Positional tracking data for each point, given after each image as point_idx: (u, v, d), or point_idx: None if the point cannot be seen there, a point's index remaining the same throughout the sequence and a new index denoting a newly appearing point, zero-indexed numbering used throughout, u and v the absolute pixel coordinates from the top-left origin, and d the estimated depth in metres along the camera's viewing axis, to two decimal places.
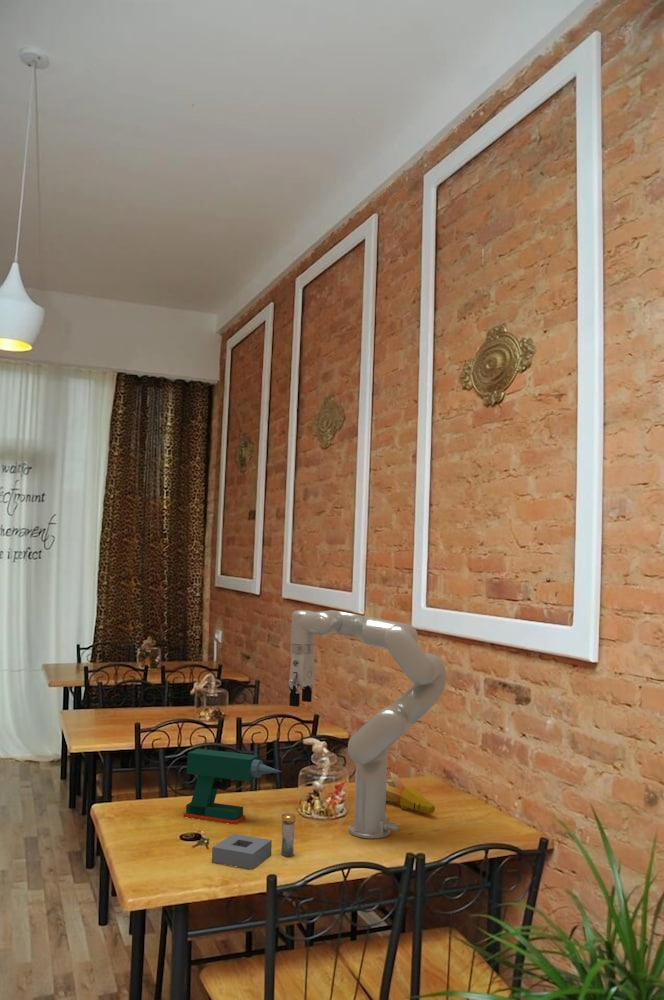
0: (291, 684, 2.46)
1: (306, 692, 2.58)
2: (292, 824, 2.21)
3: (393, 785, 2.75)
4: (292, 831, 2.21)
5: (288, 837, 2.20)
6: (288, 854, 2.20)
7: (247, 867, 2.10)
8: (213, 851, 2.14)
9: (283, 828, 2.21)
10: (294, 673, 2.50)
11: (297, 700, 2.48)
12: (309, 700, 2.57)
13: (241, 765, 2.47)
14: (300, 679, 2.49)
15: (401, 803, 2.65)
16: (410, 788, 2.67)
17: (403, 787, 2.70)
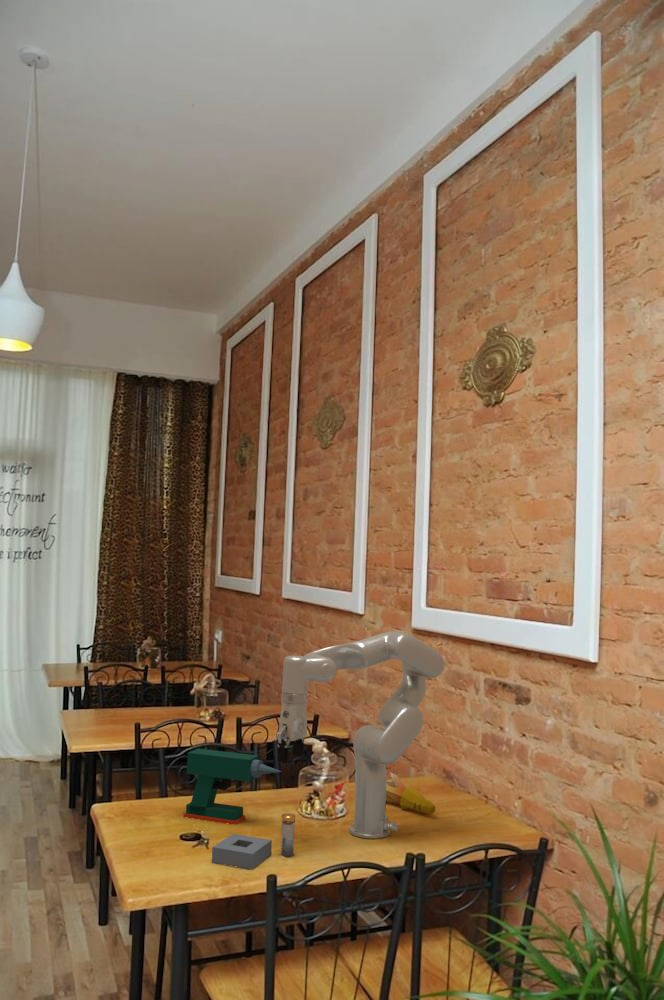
0: (279, 738, 2.25)
1: (297, 745, 2.36)
2: (292, 824, 2.21)
3: (393, 785, 2.74)
4: (292, 831, 2.21)
5: (288, 837, 2.20)
6: (288, 854, 2.20)
7: (247, 867, 2.10)
8: (213, 851, 2.14)
9: (283, 828, 2.21)
10: (283, 725, 2.28)
11: (286, 755, 2.27)
12: (300, 754, 2.36)
13: (241, 765, 2.47)
14: (290, 732, 2.27)
15: (401, 803, 2.65)
16: (410, 788, 2.67)
17: (403, 787, 2.70)
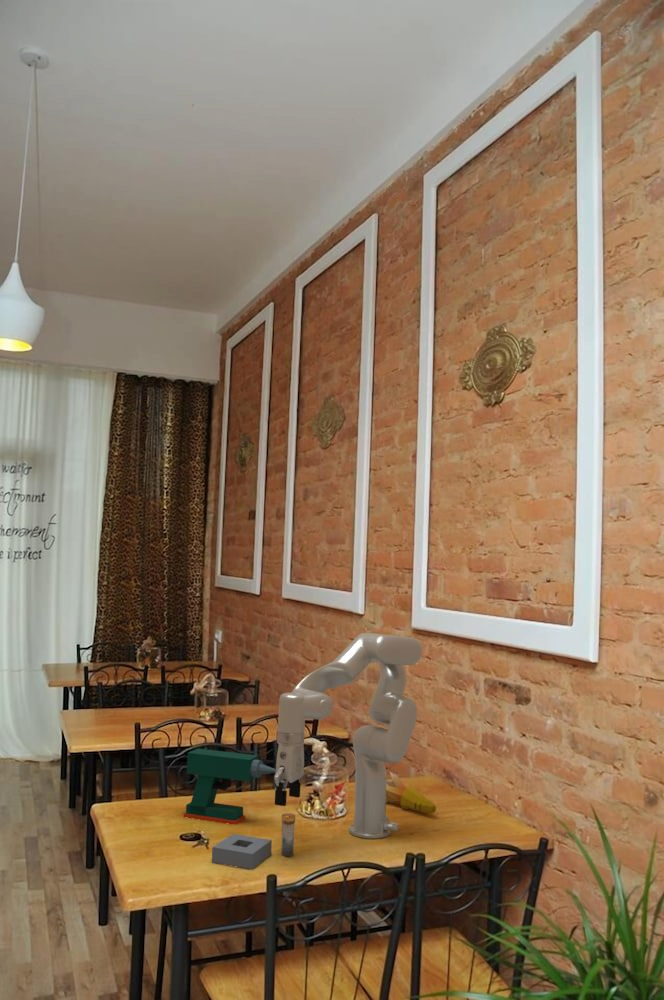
0: (277, 781, 2.15)
1: (294, 786, 2.27)
2: (292, 824, 2.21)
3: (393, 785, 2.74)
4: (292, 831, 2.21)
5: (288, 837, 2.20)
6: (288, 854, 2.20)
7: (247, 867, 2.10)
8: (213, 851, 2.14)
9: (283, 828, 2.21)
10: (280, 767, 2.19)
11: (283, 798, 2.17)
12: (297, 795, 2.26)
13: (241, 765, 2.47)
14: (287, 774, 2.18)
15: (402, 803, 2.65)
16: (410, 787, 2.67)
17: (403, 787, 2.70)
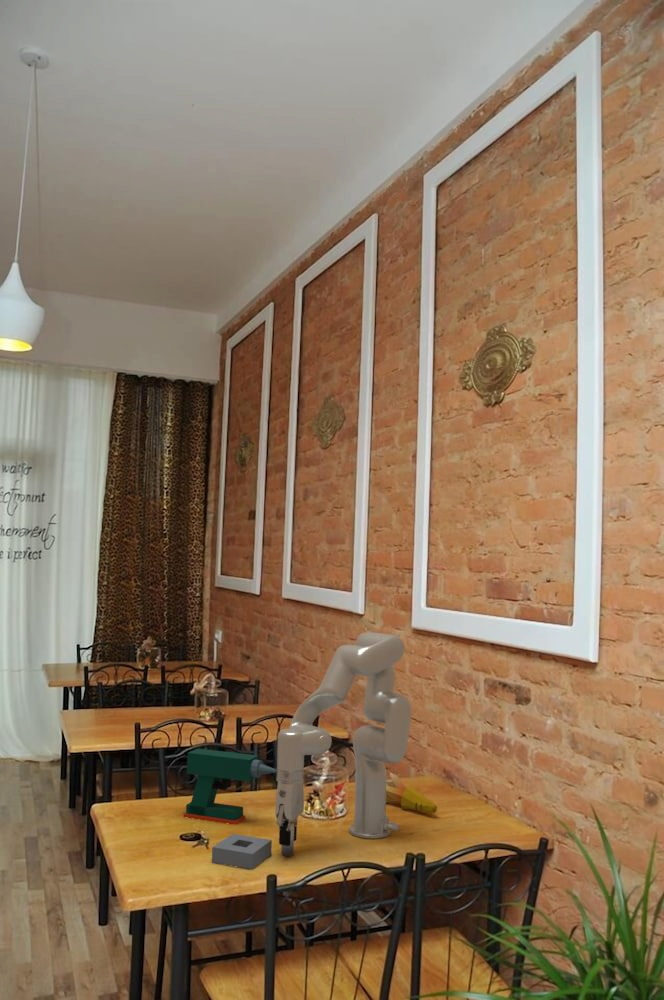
0: (280, 825, 2.17)
1: None
2: (292, 824, 2.21)
3: (393, 785, 2.74)
4: (292, 831, 2.21)
5: None
6: (288, 854, 2.20)
7: (247, 867, 2.10)
8: (213, 851, 2.14)
9: None
10: (280, 807, 2.18)
11: (288, 838, 2.19)
12: None
13: (241, 765, 2.47)
14: (287, 812, 2.17)
15: (402, 803, 2.65)
16: (411, 788, 2.67)
17: (403, 787, 2.70)
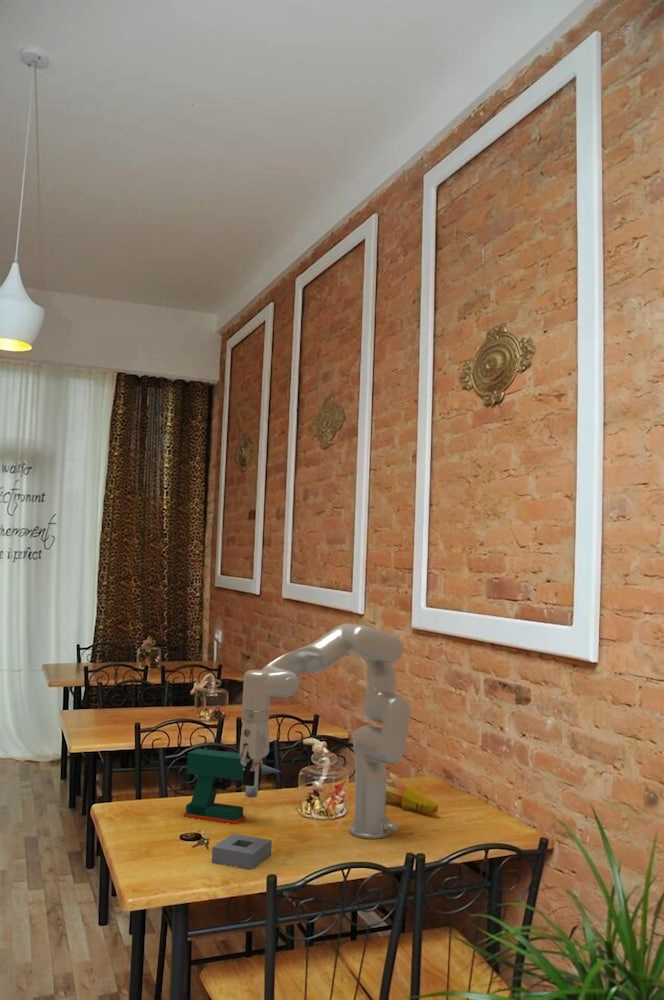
0: (244, 764, 2.15)
1: None
2: (256, 765, 2.19)
3: (392, 785, 2.74)
4: (256, 772, 2.19)
5: None
6: (252, 795, 2.18)
7: (247, 867, 2.10)
8: (213, 851, 2.14)
9: None
10: (245, 747, 2.16)
11: (252, 779, 2.17)
12: (258, 780, 2.21)
13: (241, 765, 2.47)
14: (251, 752, 2.15)
15: (403, 803, 2.65)
16: (411, 788, 2.67)
17: (404, 787, 2.70)
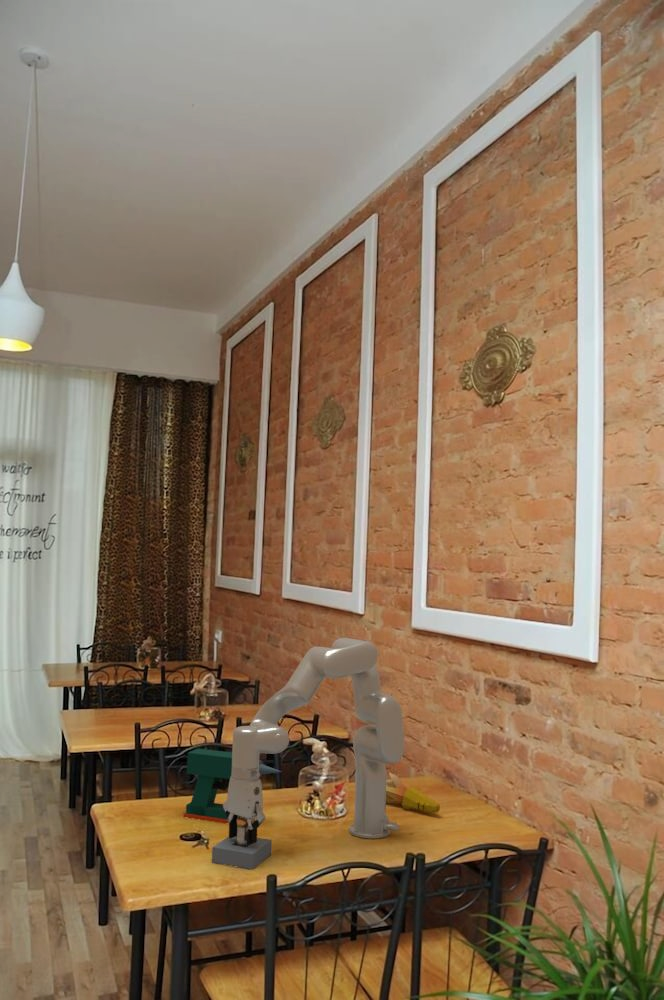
0: (262, 820, 2.14)
1: (235, 826, 2.20)
2: None
3: (392, 785, 2.74)
4: None
5: None
6: None
7: (247, 867, 2.10)
8: (213, 851, 2.14)
9: (244, 832, 2.17)
10: (255, 804, 2.15)
11: None
12: None
13: None
14: (261, 808, 2.17)
15: (404, 803, 2.65)
16: (412, 788, 2.67)
17: (404, 787, 2.70)
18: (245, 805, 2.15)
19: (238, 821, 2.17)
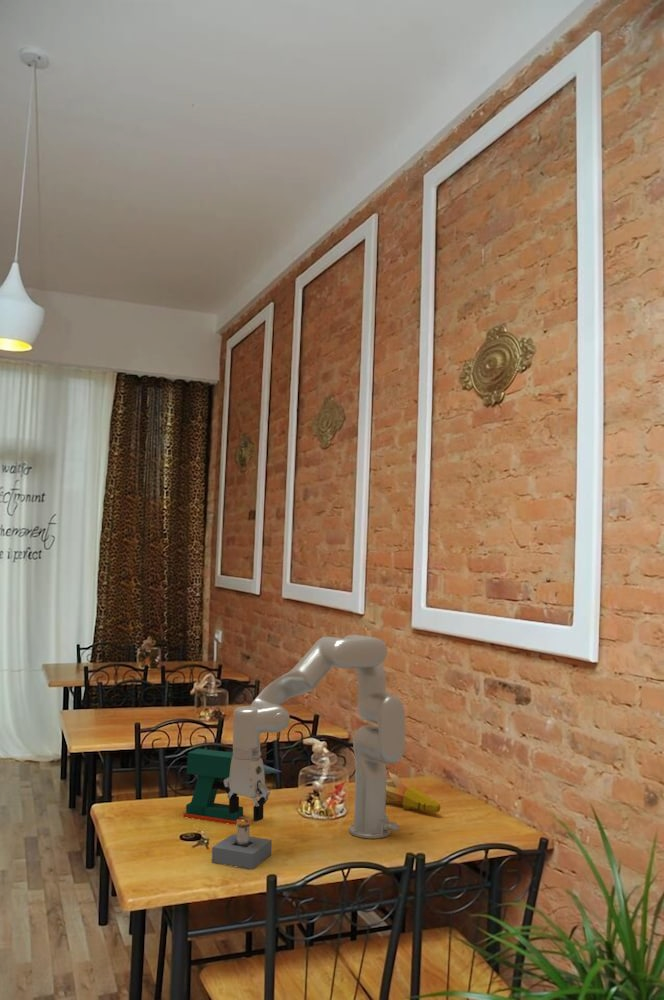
0: (267, 795, 2.14)
1: (235, 801, 2.22)
2: None
3: (392, 785, 2.74)
4: None
5: None
6: None
7: (247, 867, 2.10)
8: (213, 851, 2.14)
9: (244, 832, 2.17)
10: (258, 782, 2.16)
11: None
12: (237, 809, 2.23)
13: None
14: None
15: (404, 803, 2.65)
16: (412, 787, 2.67)
17: (404, 787, 2.70)
18: (247, 784, 2.16)
19: (238, 821, 2.17)
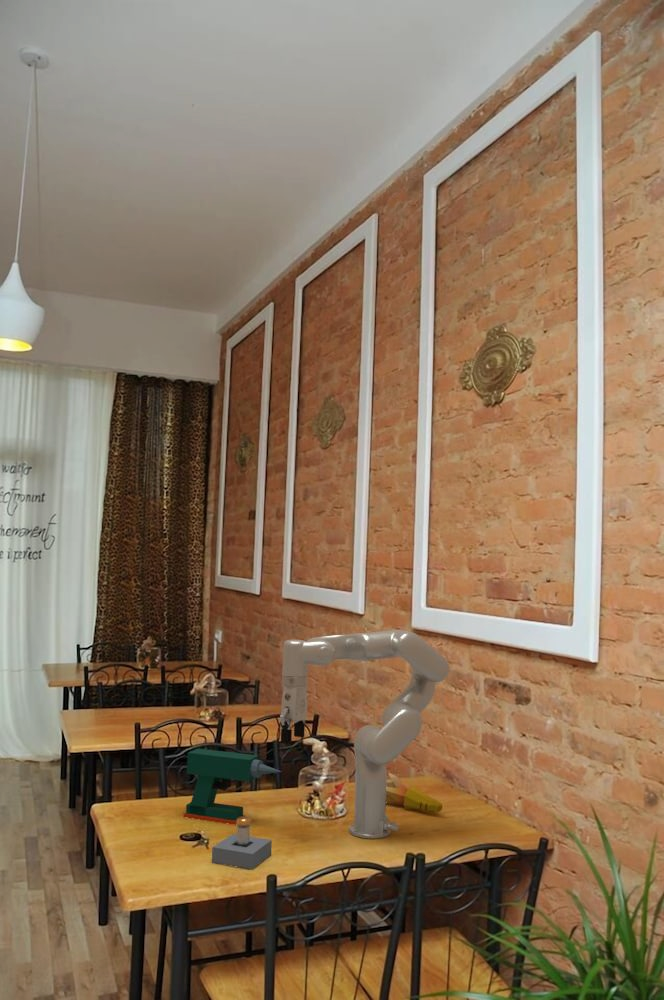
0: (282, 720, 2.31)
1: (298, 727, 2.42)
2: None
3: (392, 786, 2.74)
4: None
5: None
6: None
7: (247, 867, 2.10)
8: (213, 851, 2.14)
9: (244, 832, 2.17)
10: (285, 707, 2.34)
11: (289, 737, 2.33)
12: (302, 735, 2.42)
13: (241, 765, 2.47)
14: (292, 714, 2.33)
15: (405, 803, 2.65)
16: (413, 787, 2.68)
17: (404, 787, 2.70)
18: None
19: (238, 821, 2.17)
